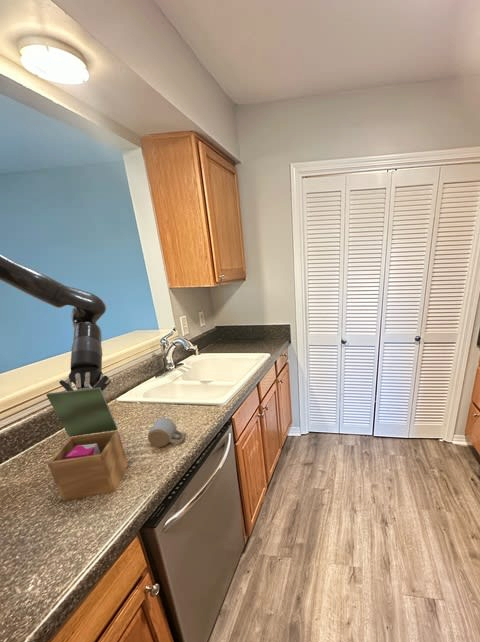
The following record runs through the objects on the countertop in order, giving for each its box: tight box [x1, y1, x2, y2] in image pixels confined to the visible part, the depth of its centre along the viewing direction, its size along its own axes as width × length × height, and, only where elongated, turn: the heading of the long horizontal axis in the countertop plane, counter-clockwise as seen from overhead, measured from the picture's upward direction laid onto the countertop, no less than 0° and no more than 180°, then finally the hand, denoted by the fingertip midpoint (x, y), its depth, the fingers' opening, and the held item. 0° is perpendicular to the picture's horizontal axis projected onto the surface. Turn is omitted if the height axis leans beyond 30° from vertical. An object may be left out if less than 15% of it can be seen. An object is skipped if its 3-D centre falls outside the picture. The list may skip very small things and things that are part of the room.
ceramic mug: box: [147, 417, 185, 448], centre depth 111 cm, size 11×8×8 cm
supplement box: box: [65, 443, 101, 459], centre depth 88 cm, size 6×6×12 cm
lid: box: [45, 387, 119, 438], centre depth 88 cm, size 14×13×1 cm
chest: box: [47, 430, 129, 501], centre depth 89 cm, size 14×13×13 cm
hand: (84, 410), depth 89 cm, fingers closed
